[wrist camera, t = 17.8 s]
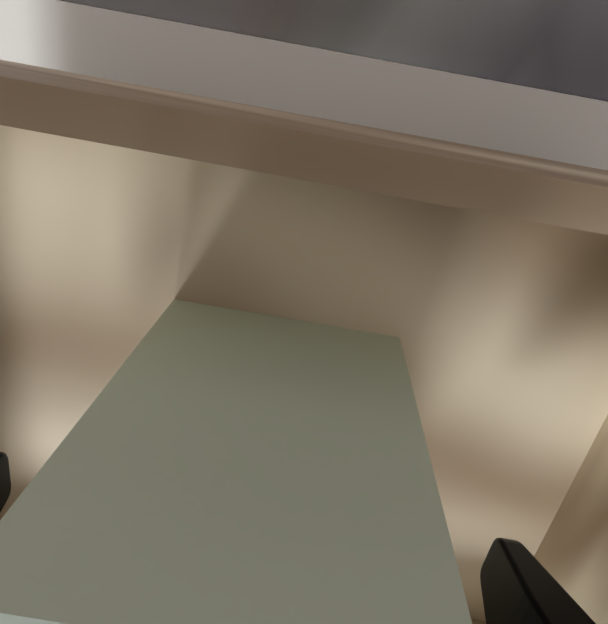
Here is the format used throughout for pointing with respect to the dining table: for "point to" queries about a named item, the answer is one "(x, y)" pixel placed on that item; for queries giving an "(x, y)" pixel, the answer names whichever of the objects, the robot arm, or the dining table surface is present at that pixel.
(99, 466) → the sage block
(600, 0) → the dining table surface
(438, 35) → the dining table surface
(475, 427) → the beige open tray
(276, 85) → the track board
